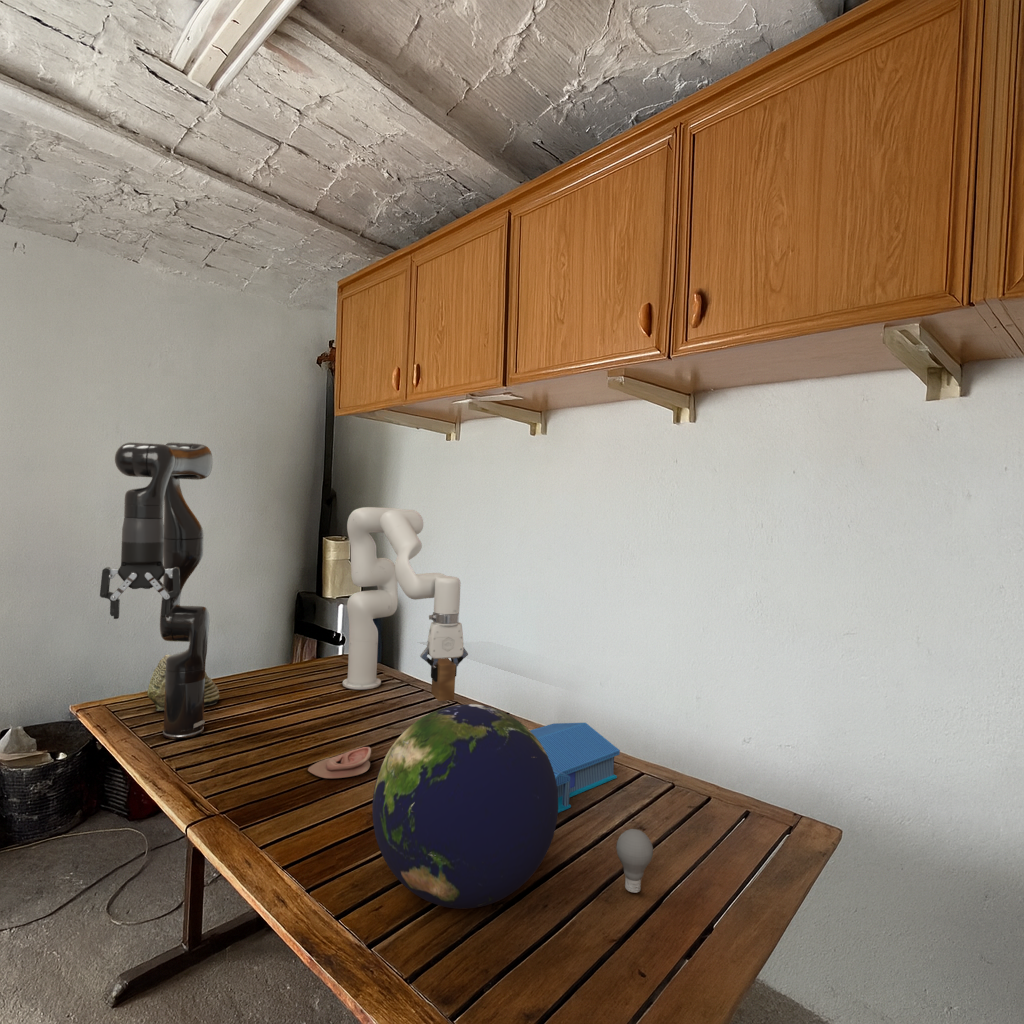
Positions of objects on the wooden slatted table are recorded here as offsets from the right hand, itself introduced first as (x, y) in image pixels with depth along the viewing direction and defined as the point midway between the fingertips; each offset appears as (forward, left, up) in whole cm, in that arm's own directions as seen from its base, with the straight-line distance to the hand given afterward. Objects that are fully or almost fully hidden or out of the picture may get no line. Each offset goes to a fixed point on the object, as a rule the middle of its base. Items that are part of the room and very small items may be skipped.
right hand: (443, 679), depth 187 cm
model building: (+49, +14, -11) cm, 52 cm away
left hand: (+41, -69, +26) cm, 84 cm away
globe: (+85, -7, -11) cm, 86 cm away
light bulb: (+89, +21, -11) cm, 92 cm away
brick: (0, 0, -5) cm, 5 cm away
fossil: (-15, -74, -11) cm, 76 cm away
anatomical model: (+35, -28, -11) cm, 46 cm away
